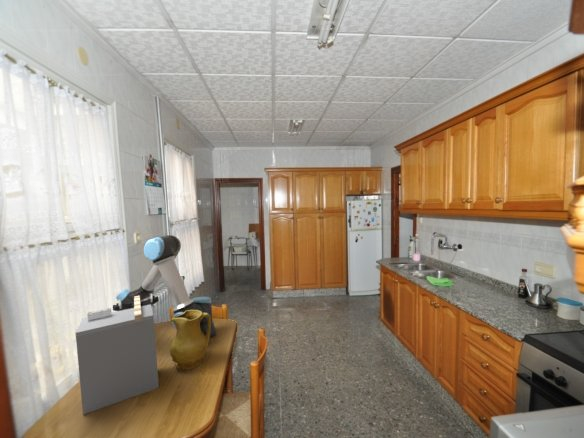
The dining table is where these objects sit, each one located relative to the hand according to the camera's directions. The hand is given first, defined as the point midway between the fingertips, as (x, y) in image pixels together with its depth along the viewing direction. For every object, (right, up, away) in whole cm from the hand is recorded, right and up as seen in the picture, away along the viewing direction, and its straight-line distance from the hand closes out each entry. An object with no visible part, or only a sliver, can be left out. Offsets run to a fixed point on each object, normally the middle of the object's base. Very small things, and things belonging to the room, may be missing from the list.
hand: (135, 299), depth 129 cm
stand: (+4, -34, -15) cm, 38 cm away
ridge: (-6, -3, -16) cm, 18 cm away
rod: (+6, -2, -9) cm, 11 cm away
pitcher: (+27, -33, +2) cm, 42 cm away
